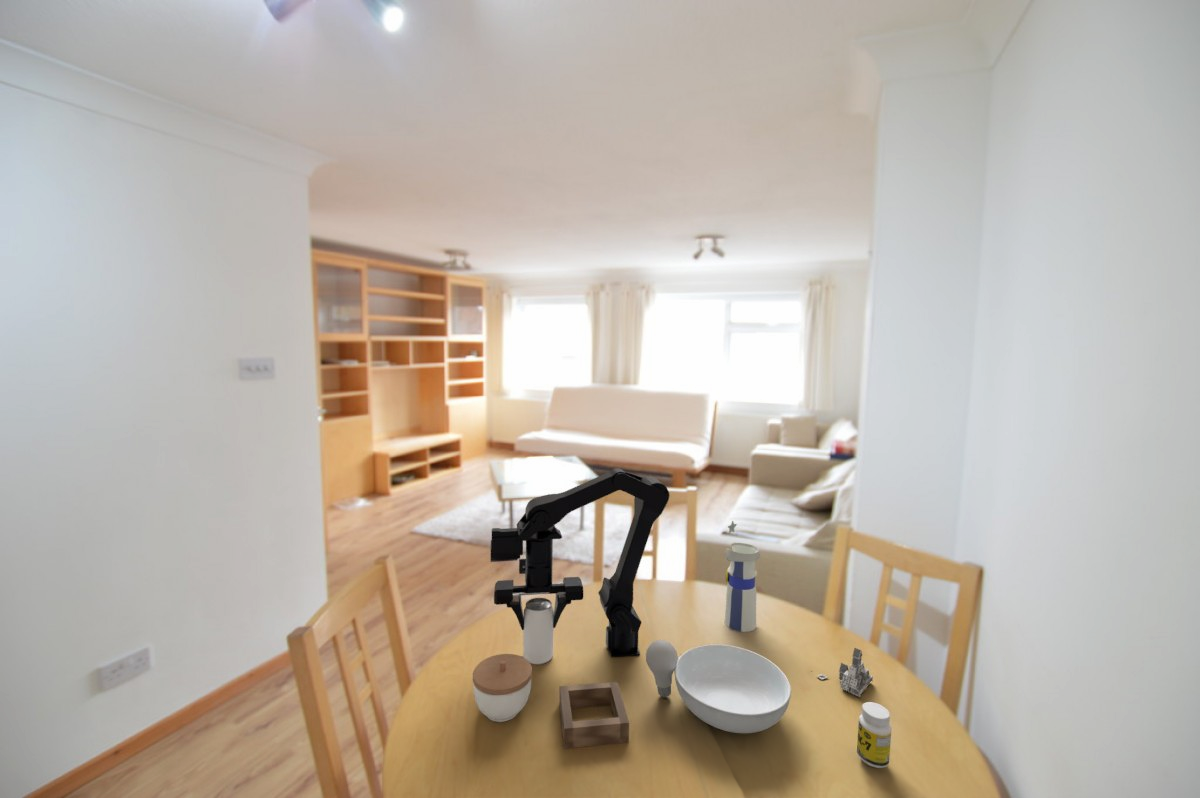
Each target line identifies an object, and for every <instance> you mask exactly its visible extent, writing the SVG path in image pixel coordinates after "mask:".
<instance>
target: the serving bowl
mask: <svg viewBox="0 0 1200 798" xmlns="http://www.w3.org/2000/svg"><path fill="white" fill-rule="evenodd" d="M673 673H674V678H675V679H674V681H675V686H676V687H677V688H676V689H677V691H678V695H680V698H681V700H682V702H683V703H684V705H685V706H686V707H687V708H688V709H689V711H691V713H693V715H695V716H696V717H697V718H698V719H700V720H701V721H702V722H704V723H706V724H708V725H709V726H710V727H711V726H712V727H714V728H716V729H720V730H722V731H724V732H725V731H726V732H728V733H735V734H754V733H758V732H759V733H760V732H761V731H765V730H767V729H770V728H771V727H773V726H774V725H776V724H777V723H778V722H780V720H781V719H782V718H783V716H785V713H786V712H787V710H788V707H789V704H790V700H791V696H792V687H791V683H790V682H789V679H788V678H787V675H786V674H785V672H783V670H781V668H779V667H778V665H776V664H775V663H774V662H772V661H771V660H769V659H768V658H766V657H765V656H763V655H761V654H759V653H756V652H754V651H752V650H748V649H746V648H743V647H739V646H735V645H727V644H718V643H717V644H713V643H712V644H705V645H699V646H695V647H692V648H690V649H688V650H686V651H684V652H683V653H682V654H681V655H680V656H679V657H678V660H677V665H676V667H675V669H674V671H673Z"/></svg>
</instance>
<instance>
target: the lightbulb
mask: <svg viewBox="0 0 1200 798" xmlns="http://www.w3.org/2000/svg"><path fill="white" fill-rule="evenodd" d="M677 652H678V651H677V650H676V648H675V646H674V644H672V643H671V642H670V641H668V640H665V639H657V640H654V641H652V642H651V643H650V644H649V645H648V646H647V648H646V652H645V662H646V665H647V666H648V669H649V670H650V671H651V673H652V674H653V676H654V681H655V685H656V687H657V694H658V695H659V696H660V697H661V698H667V697H669V696H671V694H672V683H673V673H674V669H675V667H676V665H677V660H678V658H679V657H678V653H677Z"/></svg>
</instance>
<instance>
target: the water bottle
mask: <svg viewBox="0 0 1200 798" xmlns="http://www.w3.org/2000/svg"><path fill="white" fill-rule="evenodd" d="M737 525H738V524H737V523H735V522H734V520H732V521H731V524H730V525H728V526H727V527H728V529H729V531H728V534H731V533H735V528H736V526H737ZM725 558H726V560H727V561H728V562H730V564H729V566H728V568H727V570H726V572H725V581H726V583H727V585H726V595H725V596H726V597H725V610H724V619H723V620H724V622H723V623H724V624H725V626H726V625H727V626H726V627H728V628H729V629H731V630H732V631H733V630H734V631H736V632H739V633H741V632H742V633H750V632H752V631H755V630H756V629H757V588H756V577H757V575H758V571H757V570H756V567H755V565H756V561H758V560H759V559H760V558H761V554H760V549H759V548H758V547H757V546H755V545H752V544H748V543H744V542H733V543H731V549H729V548H728V547H726V549H725Z"/></svg>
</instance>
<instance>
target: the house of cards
mask: <svg viewBox="0 0 1200 798" xmlns="http://www.w3.org/2000/svg"><path fill="white" fill-rule="evenodd" d="M862 657H863V651H862V650H861V649H859V648H857V647H854V648H853V652H852V662H851V664H850V665H849V666H848V665H847V664H845V663H844V662H840V664H839V669H838V680H839V679H840V680H839V681H841V680H842V681H841V682H840V687H839V689H841V688H842V690H843V689H844V690H843V691H845V690H846V692H847V691H848V693H850V694H852V695H853V696H854V695H855V696H856V697H859V698H861V695H862V693H863V692H864V691H865V690H864V689H866V690H867V687H868V686H869V685H870V684H871V683H872V682H873V678H874V677H873V675H871V674H870V671H869V669H868V668H866V667H865V665H864V662H863V661H862ZM816 677H818V678H819V679H820V680H824V679H827V677H828V676H827V675H826V674H824V673H822V674H818V675H816ZM871 681H872V682H871ZM870 682H871V683H870ZM869 683H870V684H869ZM868 684H869V685H868ZM867 685H868V686H867ZM863 690H864V691H863ZM860 694H861V695H860Z"/></svg>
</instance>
